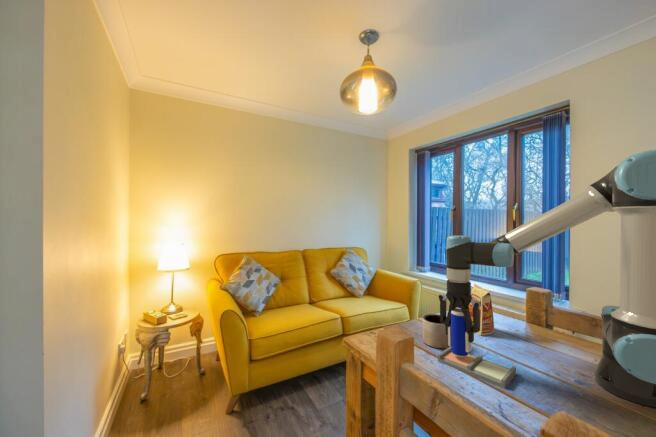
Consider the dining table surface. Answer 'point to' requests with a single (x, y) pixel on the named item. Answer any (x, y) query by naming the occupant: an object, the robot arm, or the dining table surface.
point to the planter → (434, 332)
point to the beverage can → (458, 333)
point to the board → (479, 367)
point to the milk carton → (483, 309)
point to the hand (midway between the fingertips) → (459, 347)
